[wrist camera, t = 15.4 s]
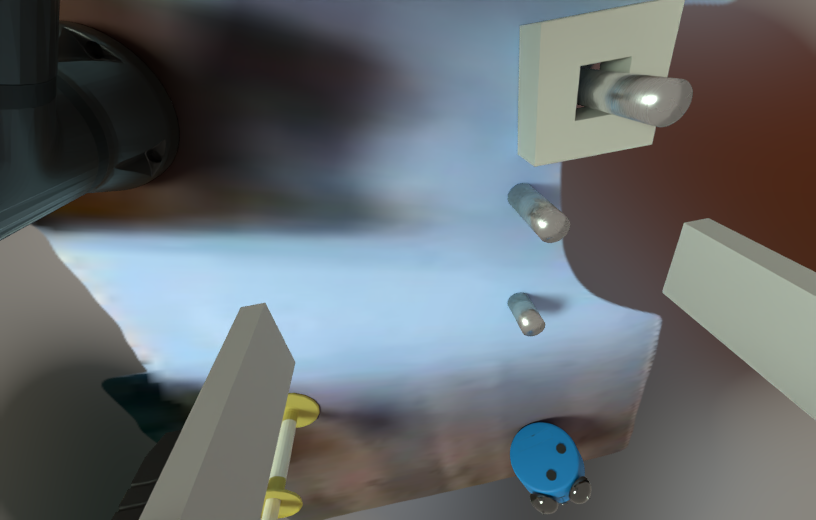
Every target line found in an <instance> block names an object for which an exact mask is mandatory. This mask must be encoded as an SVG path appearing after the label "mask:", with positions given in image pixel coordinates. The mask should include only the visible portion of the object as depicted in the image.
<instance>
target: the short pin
mask: <svg viewBox="0 0 816 520" xmlns="http://www.w3.org/2000/svg"><path fill="white" fill-rule="evenodd" d="M507 304H508V307H509V308H510V310H511V312H512V314H513V316H514V318H515V320H516V321H517V323H518V325H519V327H520V329H521V331H522V332H523V334H524V335H526V336H535V335H538V334H539V333H541V332H542V331H543V330H544V328H545V322H544V321H543V319H542V317H541V316H540V314H539V313H538V311H537V310H536V308H535V306H534V305H533V303H532V302H531V300H530V299H529V297H528V296H527V294H525V293H516V294H514V295H512V296H511V297H510V298H509V300H508V303H507Z"/></svg>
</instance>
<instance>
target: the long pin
mask: <svg viewBox="0 0 816 520" xmlns="http://www.w3.org/2000/svg"><path fill="white" fill-rule="evenodd" d="M692 95H693V90H692V86H691V85H690V83H689V82H688V81H686V80H684V79H678V78H668V77H660V76H650V75H641V74H632V73H623V72H613V71H604V70H595V69H586V68H580V75H579V85H578V94H577V104H578V105H581V106H585V107H588V108H592V109H595V110H599V111H602V112H606V113H609V114H613V115H616V116H620V117H624V118H627V119H631V120H634V121H638V122H641V123H645V124H648V125H652V126H655V127H666V126H669V125H671V124H673V123H675V122H676V121H677V120H679V119H680V118H681V117H682V116H683V115H684V114H685V112H686V111H687V109H688V108H689V106H690V103H691V100H692Z"/></svg>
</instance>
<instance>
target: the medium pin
mask: <svg viewBox="0 0 816 520" xmlns="http://www.w3.org/2000/svg"><path fill="white" fill-rule="evenodd" d="M508 202H509V204H510V205H511V206H512V207H513V209H514V210H515V211H516V212H517V213H518V214H519V215H520V216H521V217H522V219H523V220H524V221H525V222H526V223H527V224H528V225H529V226H530V227H531V229H532V230H533V231H534V232H535V233H536V234H537V235H538V236H539V237H540V239H541V240H543V241H544V242H547V243H553V242H557V241H559V240H561V239H562V238H563V237H565V235H566V234H567V233H568V231H569V229H570V221H569V219H568V217H566V216H565V215H564V214H563V213H562V212H561V211H559V210H558V209H557V208H556V207H555V206H554V205H552V204H551V203H550V202H549V201H548V200H547V199H545V198H544V197H543V196H542V195H541V194H540V193H538V192H537V191H536V190H535V189H534V188H533V187H531V186H530V185H529V184H527V183H520V184H517V185H515V186H514V187H513V188H512V189H511V190H510V192H509V194H508Z"/></svg>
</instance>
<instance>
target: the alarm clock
mask: <svg viewBox="0 0 816 520" xmlns="http://www.w3.org/2000/svg"><path fill="white" fill-rule="evenodd" d="M510 460H511V464H512V467H513V470H514V472H515V474H516V475H517V477H518V478H519V479H520V481H521V482H522V483H523V485H524V486H525V487H526V489H527V490H528V491H529V492H530V493H531V495H530V500H531V503H532V505H533V506H534V507H535V508H536V509H537V510H538V511H540V512H542V514H544V513H545V514H551V513H554V512H555V511H556V510H557V508H558V503H562V502H564V503H562V505H566V504H568V503H567V502H566V501H568V500H571V501H572V502H574V503H578V504H581V503H584V502H586V501H587V500H588V499H590V498H589V497H590V495H591V485H590V482H589V481H588V480H587V478H586V477H585V468H584V463H583V460H582V457H581V455H580V453H579V451H578V449H577V447H576V445H575V443H574V441H573V440H572V438H571V437H570V436H569V435H568V434H567V433H566V432H565V431H564V430H562V429H561V428H559V427H558V426H556V425H553V424H550V423H545V422H537V423H532V424H529V425H527V426H525V427H523V428H522V429H521V430H520V431H519V432H518V433H517V434H516V436H515V437H514V439H513V441H512V444H511V449H510Z"/></svg>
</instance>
